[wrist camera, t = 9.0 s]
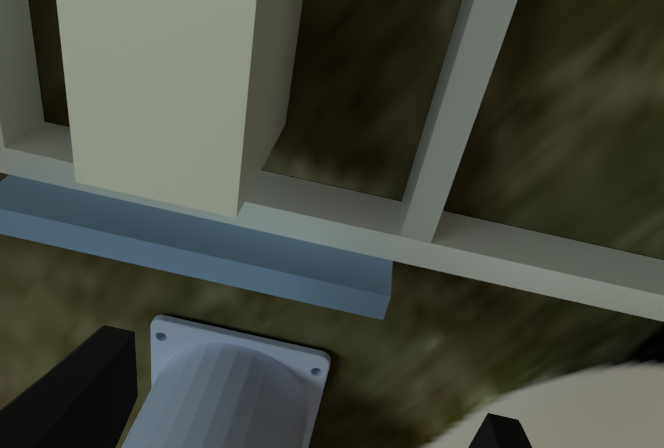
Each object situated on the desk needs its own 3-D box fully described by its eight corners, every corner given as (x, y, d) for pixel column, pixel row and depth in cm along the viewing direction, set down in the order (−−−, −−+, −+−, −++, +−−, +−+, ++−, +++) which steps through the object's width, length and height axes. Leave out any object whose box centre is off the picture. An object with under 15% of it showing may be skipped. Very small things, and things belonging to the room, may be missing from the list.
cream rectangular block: (285, 123, 18) (235, 218, 13) (169, 97, 18) (75, 182, 13) (326, -168, 13) (274, -195, 8) (172, -201, 13) (29, -248, 8)
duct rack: (781, 334, 20) (855, 426, 16) (25, 164, 20) (-53, 221, 17) (1233, -150, 11) (1568, -162, 8) (-74, -434, 12) (-268, -558, 8)
